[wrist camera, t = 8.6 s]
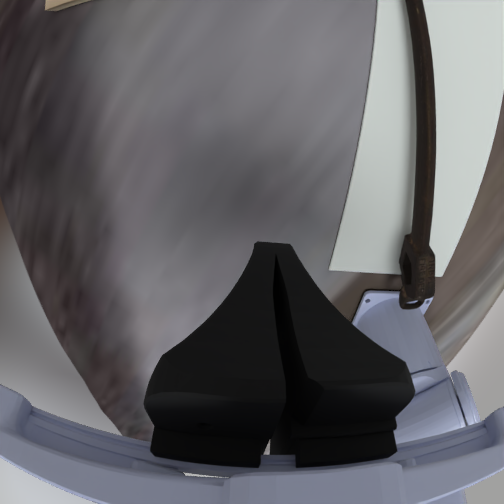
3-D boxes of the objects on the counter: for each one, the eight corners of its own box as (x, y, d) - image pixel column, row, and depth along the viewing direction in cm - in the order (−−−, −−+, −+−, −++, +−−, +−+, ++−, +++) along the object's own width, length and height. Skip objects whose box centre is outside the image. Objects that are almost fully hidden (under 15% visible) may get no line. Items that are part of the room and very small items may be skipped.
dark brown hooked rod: (437, -43, 10) (434, 287, 25) (377, -56, 11) (388, 291, 26) (468, -61, 5) (454, 324, 21) (399, -84, 6) (403, 331, 21)
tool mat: (441, 275, 25) (441, 276, 25) (328, 268, 25) (328, 270, 25) (507, -5, 9) (509, -5, 9) (379, -71, 9) (380, -72, 8)
